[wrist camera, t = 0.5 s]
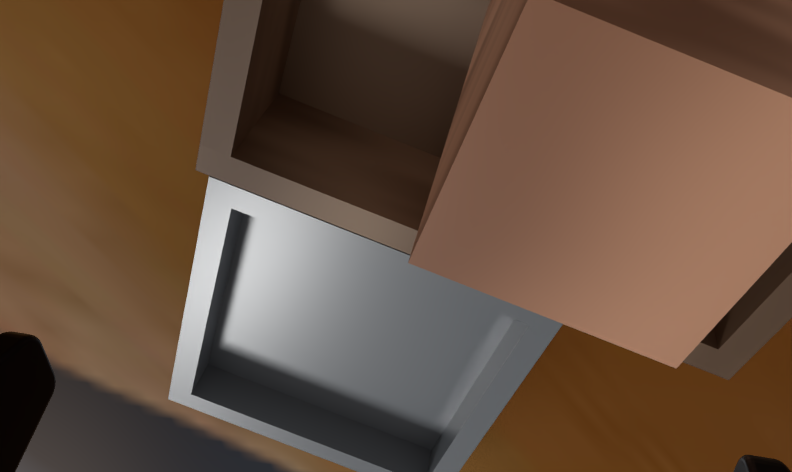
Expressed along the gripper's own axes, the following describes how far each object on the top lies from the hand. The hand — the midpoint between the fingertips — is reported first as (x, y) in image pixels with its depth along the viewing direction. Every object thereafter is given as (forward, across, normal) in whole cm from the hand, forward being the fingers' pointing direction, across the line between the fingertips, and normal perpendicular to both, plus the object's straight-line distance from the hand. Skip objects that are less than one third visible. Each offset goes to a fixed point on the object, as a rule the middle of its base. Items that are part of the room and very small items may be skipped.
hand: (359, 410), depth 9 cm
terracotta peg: (+12, -3, -2) cm, 12 cm away
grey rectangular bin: (+12, +4, +10) cm, 17 cm away
